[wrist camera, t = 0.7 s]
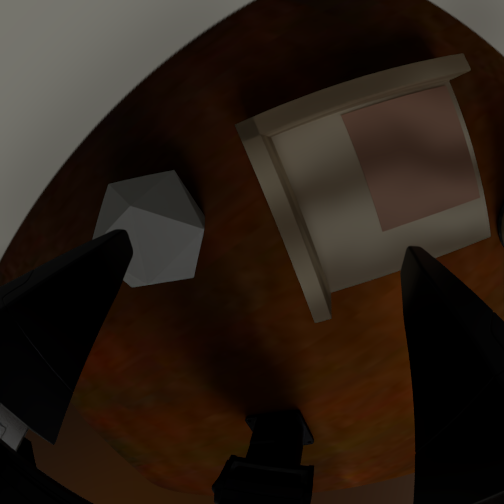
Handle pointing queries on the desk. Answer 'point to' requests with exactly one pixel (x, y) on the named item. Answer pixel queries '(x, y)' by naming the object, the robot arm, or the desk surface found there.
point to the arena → (369, 175)
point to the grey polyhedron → (154, 226)
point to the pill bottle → (501, 225)
